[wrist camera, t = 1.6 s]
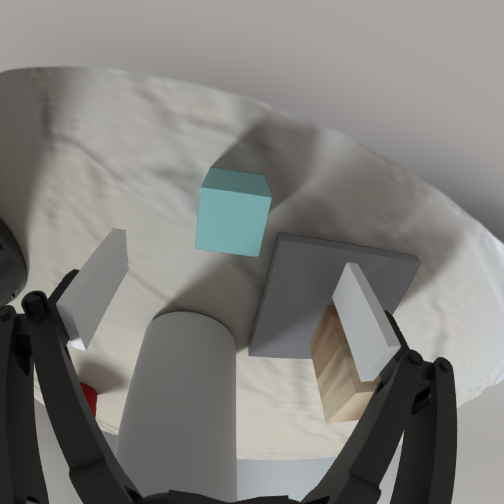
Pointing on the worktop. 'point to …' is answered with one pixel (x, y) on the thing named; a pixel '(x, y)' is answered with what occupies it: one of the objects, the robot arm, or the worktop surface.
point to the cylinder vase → (182, 409)
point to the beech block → (344, 388)
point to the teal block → (232, 212)
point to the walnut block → (326, 339)
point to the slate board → (318, 289)
